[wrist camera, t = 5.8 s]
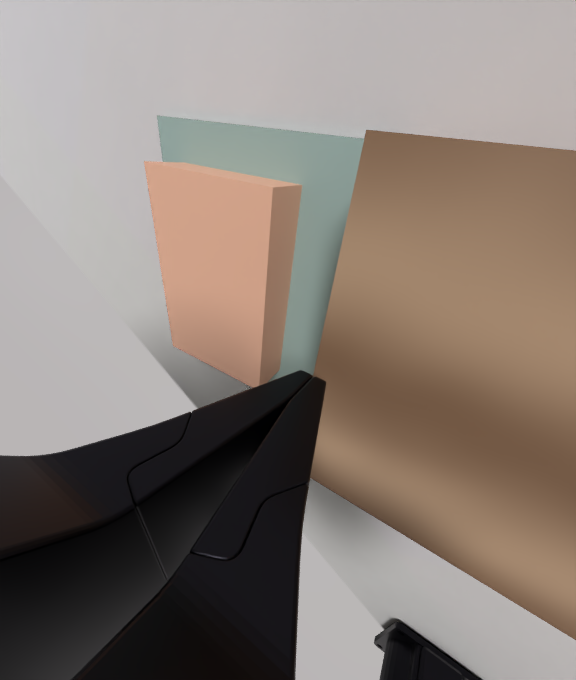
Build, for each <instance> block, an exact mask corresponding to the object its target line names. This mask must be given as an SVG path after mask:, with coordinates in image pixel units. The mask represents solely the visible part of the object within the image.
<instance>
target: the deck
mask: <svg viewBox="0 0 576 680" xmlns="http://www.w3.org/2000/svg"><path fill="white" fill-rule="evenodd" d="M314 376H316V377H318V378H320V379H322V380H325V381H326V389H325V395H324V401H323V406H322V412H321V418H320V424H319V429H318V435H317V441H316V447H315V453H314V458H313V464H312V470H311V476H310V478H312V479H313V480H315V481H317V482H318V483H320V484H321V485H323V486H325V487H326V488H328V489H330V490H331V491H333V492H334V493H336V494H338V495H339V496H341V497H343V498H344V499H346V500H348V501H349V502H351V503H352V504H354V505H356V506H357V507H359V508H361V509H362V510H364V511H366V512H367V513H369V514H370V515H372V516H374V517H375V518H377V519H379V520H380V521H382V522H384V523H385V524H387V525H388V526H390V527H392V528H393V529H395V530H397V531H398V532H400V533H402V534H403V535H405V536H406V537H408V538H410V539H411V540H413V541H415V542H416V543H418V544H420V545H421V546H423V547H424V548H426V549H428V550H429V551H431V552H433V553H434V554H436V555H438V556H439V557H441V558H442V559H444V560H446V561H447V562H449V563H451V564H452V565H454V566H455V567H457V568H459V569H460V570H462V571H464V572H465V573H467V574H469V575H470V576H472V577H473V578H475V579H477V580H478V581H480V582H482V583H483V584H485V585H487V586H488V587H490V588H491V589H493V590H495V591H496V592H498V593H500V594H501V595H503V596H505V597H506V598H508V599H509V600H511V601H513V602H514V603H516V604H518V605H519V606H521V607H523V608H524V609H526V610H527V611H529V612H531V613H532V614H534V615H536V616H537V617H539V618H541V619H542V620H544V621H545V622H547V623H549V624H550V625H552V626H554V627H555V628H557V629H559V630H560V631H562V632H563V633H565V634H567V635H568V636H570V637H572V638H573V639H575V640H576V151H573V150H563V149H553V148H543V147H533V146H523V145H513V144H503V143H493V142H483V141H473V140H463V139H453V138H443V137H433V136H423V135H413V134H403V133H393V132H383V131H373V130H366V134H365V138H364V143H363V147H362V152H361V157H360V161H359V166H358V171H357V175H356V180H355V184H354V189H353V194H352V198H351V203H350V207H349V212H348V217H347V221H346V226H345V231H344V235H343V240H342V244H341V249H340V254H339V258H338V263H337V267H336V272H335V277H334V281H333V286H332V291H331V295H330V300H329V304H328V309H327V314H326V318H325V323H324V327H323V332H322V337H321V341H320V346H319V351H318V355H317V360H316V364H315V369H314V374H313V377H314Z"/></svg>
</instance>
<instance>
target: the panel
mask: <svg viewBox="0 0 576 680" xmlns="http://www.w3.org/2000/svg"><path fill="white" fill-rule="evenodd" d="M157 119H158V127H159V135H160V143H161V151H162V159H163V162H184V163H189V164H195V165H200V166H205V167H210V168H216V169H221V170H226V171H232V172H237V173H242V174H247V175H253V176H258V177H263V178H269V179H274V180H279V181H284V182H290V183H295V184H300V185H302V191H301V200H300V208H299V216H298V224H297V232H296V241H295V249H294V257H293V265H292V273H291V282H290V290H289V298H288V306H287V314H286V323H285V331H284V339H283V347H282V355H281V364H280V370H279V371H278V372H277V373H276V374H275V375H274V376H273V377H272V378H271V379H270V380H269V381H268V382H270V381H272V380H275V379H278V378H280V377H283V376H285V375H288V374H291V373H293V372H296V371H299V370H303V371H305V372H307V373H309V374H311V375H312V376H313V374H314V369H315V364H316V360H317V355H318V351H319V346H320V341H321V337H322V332H323V327H324V323H325V318H326V314H327V309H328V304H329V300H330V295H331V291H332V286H333V281H334V277H335V272H336V267H337V263H338V258H339V254H340V249H341V244H342V240H343V235H344V231H345V226H346V221H347V217H348V212H349V207H350V203H351V198H352V194H353V189H354V184H355V180H356V175H357V171H358V166H359V161H360V157H361V152H362V147H363V143H364V139H361V138H352V137H343V136H334V135H325V134H316V133H307V132H298V131H289V130H281V129H272V128H263V127H254V126H245V125H236V124H227V123H218V122H209V121H200V120H192V119H183V118H174V117H165V116H157Z"/></svg>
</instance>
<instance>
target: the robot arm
mask: <svg viewBox="0 0 576 680" xmlns="http://www.w3.org/2000/svg"><path fill="white" fill-rule="evenodd" d="M325 389H326V381H325V380H322V379H320V378H318V377H316V376H314V377H313V376H312V375H311V374H309V373H307V372H305V371H303V370H299V371H296V372H293V373H291V374H288V375H285V376H283V377H280V378H278V379H275V380H272V381H270V382H267V383H264V384H262V385H259V386H257V387H254V388H251V389H249V390H246V391H243V392H241V393H238V394H236V395H233V396H230V397H228V398H225V399H222V400H220V401H217V402H215V403H212V404H209V405H207V406H204V407H201V408H199V409H196V410H194V411H192V413H191V412H188V413H185V414H183V415H180V416H178V417H175V418H172V419H169V420H167V421H164V422H161V423H158V424H155V425H152V426H149V427H146V428H142V429H139V430H136V431H133V432H130V433H126V434H123V435H119V436H116V437H113V438H109V439H105V440H102V441H98V442H95V443H91V444H88V445H84V446H81V447H78V448H74V449H70V450H67V451H63V452H58V453H53V454H46V455H38V456H0V680H295V668H296V643H297V620H298V618H297V617H298V598H299V597H298V596H299V575H300V555H301V540H302V528H303V521H304V514H305V506H306V500H307V494H308V488H309V487H308V486H309V481H310V476H311V470H312V464H313V458H314V453H315V447H316V441H317V435H318V429H319V424H320V418H321V412H322V406H323V401H324V395H325ZM374 644H375V645H376V646H377V647H378V648H380V649H381V650H382V651H383V652H385V654H384V659H383V665H382V670H381V675H380V680H479V679H477V678H476V677H475V676H473V675H472V674H470V673H469V672H468V671H466V670H465V669H464V668H462V667H461V666H459V665H458V664H457V663H455V662H454V661H452V660H451V659H450V658H448V657H447V656H446V655H444V654H443V653H441V652H440V651H439V650H437V649H436V648H435V647H433V646H432V645H430V644H429V643H428V642H426V641H425V640H424V639H422V638H421V637H419V636H418V635H417V634H415V633H414V632H413V631H411V630H410V629H408V628H407V627H406V626H404V625H403V624H401V623H399V622H395V623H394V624H392V625H391V626H389V627H388V628H387V629H385V630H384V631H382V632H381V633H380V634H378V635H377V636H375V641H374Z"/></svg>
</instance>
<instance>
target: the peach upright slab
mask: <svg viewBox="0 0 576 680" xmlns="http://www.w3.org/2000/svg"><path fill="white" fill-rule="evenodd" d="M144 164H145V170H146V177H147V183H148V190H149V196H150V202H151V209H152V215H153V221H154V228H155V234H156V240H157V247H158V253H159V259H160V266H161V272H162V278H163V285H164V291H165V297H166V304H167V310H168V316H169V323H170V329H171V336H172V342H173V346H174V347H176V348H178V349H180V350H182V351H184V352H186V353H188V354H189V355H191V356H193V357H195V358H197V359H199V360H201V361H203V362H205V363H207V364H209V365H210V366H212V367H214V368H216V369H218V370H220V371H222V372H224V373H226V374H228V375H229V376H231V377H233V378H235V379H237V380H239V381H241V382H243V383H245V384H247V385H249V386H250V387H252V388H254V387H257V386H259V385H262V384H264V383H267V382H268V381H269V380H270V379H271V378H272V377H273V376H274V375H275V374H276V373H277V372H278V371H279V370H280V364H281V355H282V347H283V339H284V331H285V323H286V314H287V306H288V298H289V290H290V282H291V273H292V265H293V257H294V249H295V241H296V232H297V224H298V216H299V208H300V200H301V191H302V185H300V184H295V183H290V182H284V181H279V180H274V179H269V178H263V177H258V176H253V175H247V174H242V173H237V172H232V171H226V170H221V169H216V168H210V167H205V166H200V165H195V164H189V163H184V162H147V161H144Z"/></svg>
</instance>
